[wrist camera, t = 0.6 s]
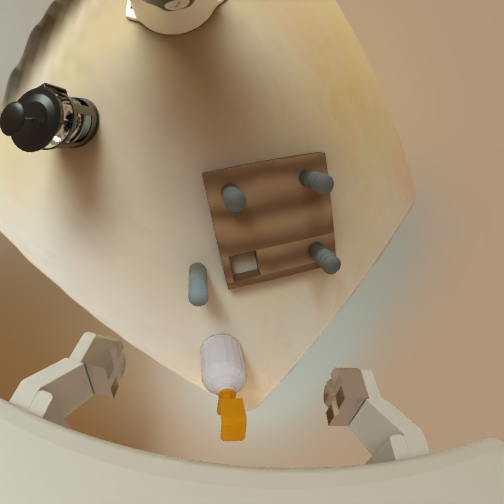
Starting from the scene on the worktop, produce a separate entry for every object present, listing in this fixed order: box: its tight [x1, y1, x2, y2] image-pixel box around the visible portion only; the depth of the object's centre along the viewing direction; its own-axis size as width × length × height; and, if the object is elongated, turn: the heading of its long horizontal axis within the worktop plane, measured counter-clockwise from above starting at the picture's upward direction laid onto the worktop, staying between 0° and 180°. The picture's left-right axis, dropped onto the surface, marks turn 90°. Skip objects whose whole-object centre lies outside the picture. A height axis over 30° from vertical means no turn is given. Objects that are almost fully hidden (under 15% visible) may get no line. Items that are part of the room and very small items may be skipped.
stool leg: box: [188, 263, 208, 306], centre depth 55 cm, size 3×3×11 cm
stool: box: [202, 152, 341, 290], centre depth 54 cm, size 22×22×11 cm
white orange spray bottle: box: [200, 334, 247, 441], centre depth 56 cm, size 9×9×25 cm
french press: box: [0, 83, 99, 152], centre depth 36 cm, size 12×9×23 cm
